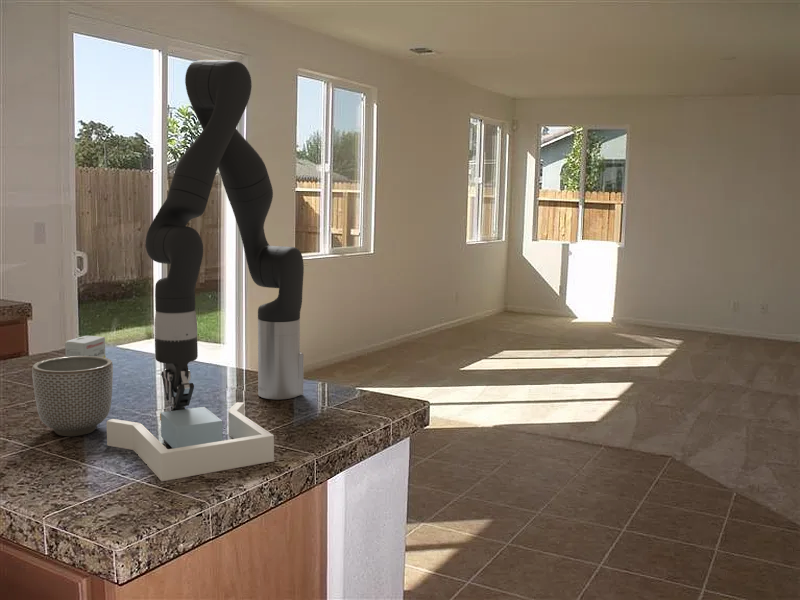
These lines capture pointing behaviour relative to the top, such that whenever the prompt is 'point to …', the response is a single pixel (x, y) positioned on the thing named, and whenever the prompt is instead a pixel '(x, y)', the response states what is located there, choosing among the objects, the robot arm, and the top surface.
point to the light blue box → (190, 427)
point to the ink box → (86, 346)
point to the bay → (196, 447)
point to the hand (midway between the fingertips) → (178, 425)
